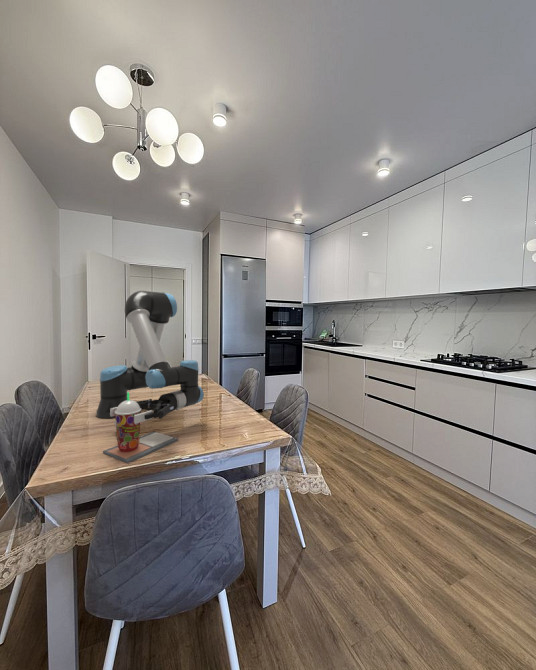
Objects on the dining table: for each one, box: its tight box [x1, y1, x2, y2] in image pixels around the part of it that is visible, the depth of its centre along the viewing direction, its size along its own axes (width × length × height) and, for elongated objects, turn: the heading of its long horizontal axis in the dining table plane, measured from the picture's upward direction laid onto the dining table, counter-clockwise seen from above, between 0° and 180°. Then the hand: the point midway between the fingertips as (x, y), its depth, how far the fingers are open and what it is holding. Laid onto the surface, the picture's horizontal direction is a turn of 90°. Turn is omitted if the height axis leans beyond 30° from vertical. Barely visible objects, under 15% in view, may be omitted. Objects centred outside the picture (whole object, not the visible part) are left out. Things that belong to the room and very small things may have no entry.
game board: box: [102, 431, 179, 464], centre depth 105 cm, size 14×21×1 cm, turn 150°
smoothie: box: [115, 391, 142, 452], centre depth 100 cm, size 8×8×20 cm
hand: (122, 416), depth 97 cm, fingers open, 13 cm apart
